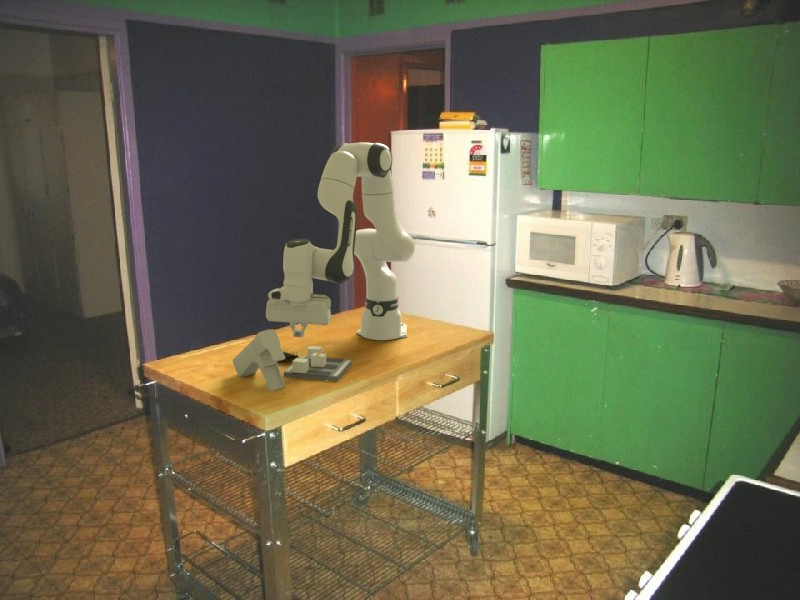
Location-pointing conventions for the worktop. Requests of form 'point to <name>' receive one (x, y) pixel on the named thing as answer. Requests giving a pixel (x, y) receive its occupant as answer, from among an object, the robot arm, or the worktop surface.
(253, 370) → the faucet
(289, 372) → the panel
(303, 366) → the block
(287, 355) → the hairbrush
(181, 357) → the worktop surface
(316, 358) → the breaker
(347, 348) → the worktop surface
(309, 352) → the block
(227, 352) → the worktop surface
